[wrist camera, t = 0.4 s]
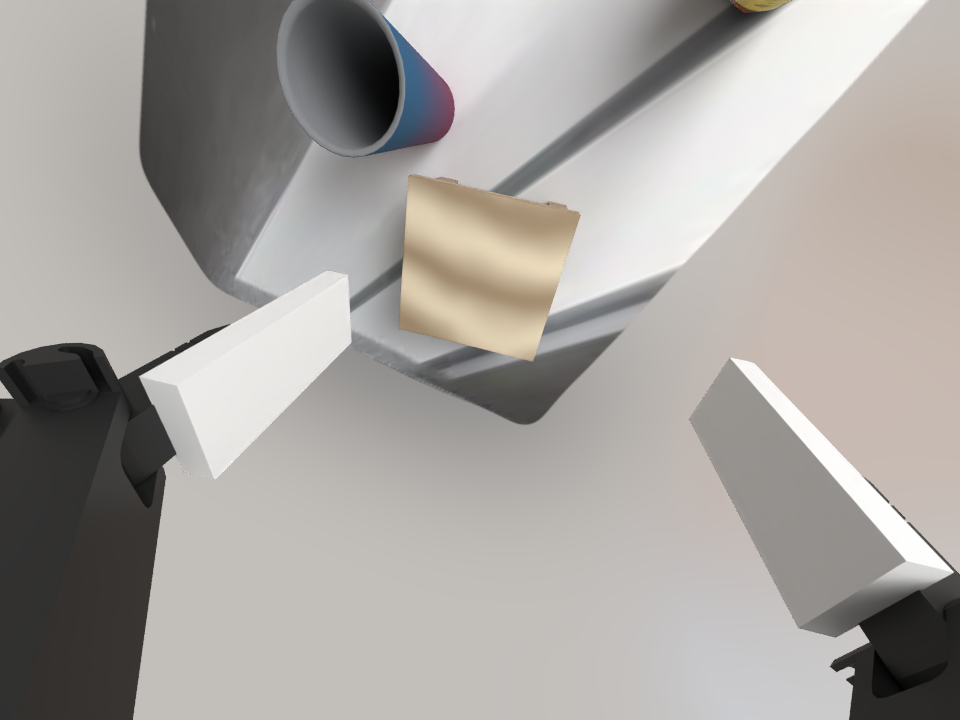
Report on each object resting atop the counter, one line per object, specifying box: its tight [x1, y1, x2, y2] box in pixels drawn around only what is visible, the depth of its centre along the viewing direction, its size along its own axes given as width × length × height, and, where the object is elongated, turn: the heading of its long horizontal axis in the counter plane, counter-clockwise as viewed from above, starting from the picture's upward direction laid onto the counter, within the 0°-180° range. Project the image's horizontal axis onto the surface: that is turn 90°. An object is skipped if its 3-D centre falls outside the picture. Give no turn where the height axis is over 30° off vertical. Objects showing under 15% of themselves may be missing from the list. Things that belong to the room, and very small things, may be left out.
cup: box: [276, 0, 455, 157], centre depth 24 cm, size 7×7×15 cm
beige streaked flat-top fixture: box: [399, 174, 580, 361], centre depth 32 cm, size 13×13×8 cm
